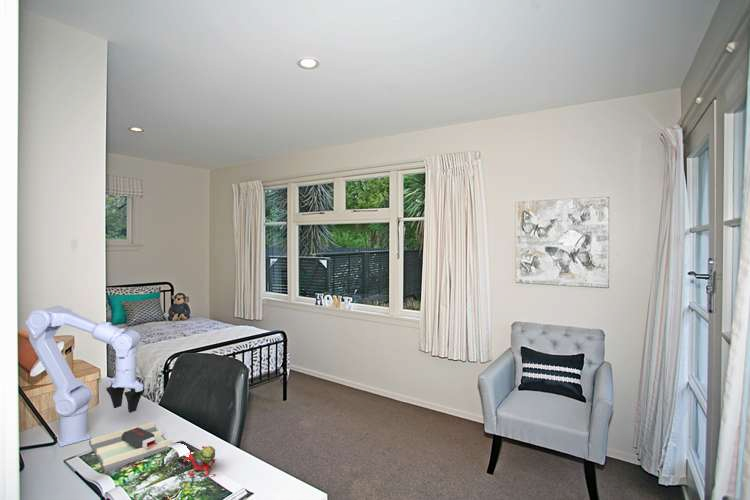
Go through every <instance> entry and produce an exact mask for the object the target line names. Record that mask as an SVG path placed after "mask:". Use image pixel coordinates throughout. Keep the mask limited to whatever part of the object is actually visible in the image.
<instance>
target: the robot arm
mask: <svg viewBox="0 0 750 500" xmlns="http://www.w3.org/2000/svg"><path fill="white" fill-rule="evenodd" d="M25 325H26V327H27V328H28V335H29V336H28V339H29V343H30V344H31V346H32V348H33V350H34V352H35V353H36V355H37V358H38V359H39V361H40V363H41V364H42V366H43V367H44V370H45V372H46V374H47V375H48V377H49V379H50V382H51V383H52V384H53V386H54V388H55V391H54V393H53V395H52V400H53V402H54V410H55V412H56V413H57V414H58V415H59V433H57V434H56V435H55V438H56V437H57V439H56V441H57V444H58V445H59V447H65V446H68V445H71V444H75V443H79V442H82V441H87V440H91V439H92V437H91V435H90V433H89V431H88V420H89V419H88V415H89V413H88V412H89V403H90V402H92V400H93V397H94V393H93V390H92V389H91V388H90V387H88V386H86V384H85V382H84V381H82V380H79V379H77V378H76V377H75V375H74V373H73V371H72V370H71V367H70V365H69V364H68V362H67V360H66V358H65V356H64V355H63V353H62V351H61V349H60V348H59V346H58V344H57V342H56V340H55V339H54V337H55V335H56V333H57V331H58V330H59V329H60V328H61V327H62V326H69V327H71V328H72V327H73V328H75V329H78V330H82V331H84V332H87V333H90V334H91V336H92V338H93V339H95V340H97V341H100V342H101V343H102V342H103V343H104V344H107V345H110V346H112V348H113V350H115V377H111V378H109V379H108V385H109V386H108V387H106V388H105V389H106V392H107V393H108V395H109V397H110V399H111V404H112V406H113V409H116V408H120V407H122V405H123V397H125V398H126V400H127V412H128V413H133V412H136V411H137V409H138V405H139V402H140V400H141V398H142V395H143V394H144V393H145V388H144V384H143V383H140V382H139V381H138V380H137V346H138V345H139V344H140V341H141V337H140V334H139V333H138V332H137V331H135V330H133V329H128V330H126V328H123V327H122V328H120V327H118V326H116V325H113V324H112V322H110V321H107V322H106V321H105V322H100V323H98V322H95V321H93V320H91V319H90V318H87V317H85V316H82V315H80V314H78V313H76V312H74V311H73V310H72V309H70V308H67V307H64V306H61V305H55V306H52V307H47V308H42V309H35V310H33V311H31V313H30V314H29V315H28V317H27V319H26V320H25ZM125 389H129V390H128V391H126V392H125Z"/></svg>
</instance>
